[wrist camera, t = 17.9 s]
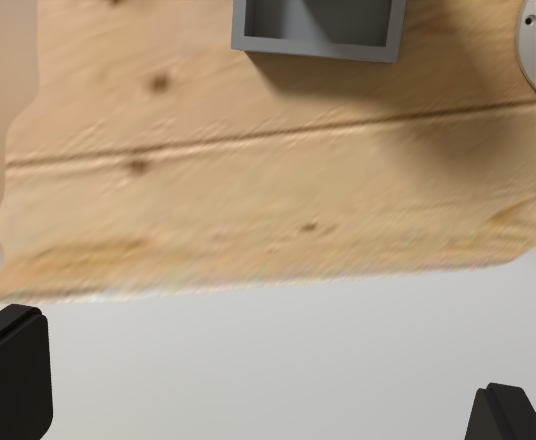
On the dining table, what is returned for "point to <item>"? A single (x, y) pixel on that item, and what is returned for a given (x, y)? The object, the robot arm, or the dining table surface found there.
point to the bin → (320, 28)
